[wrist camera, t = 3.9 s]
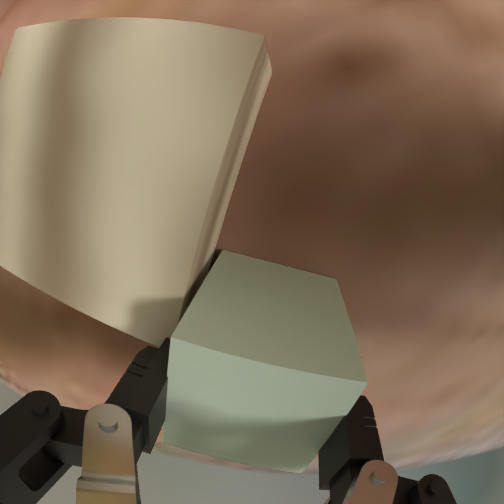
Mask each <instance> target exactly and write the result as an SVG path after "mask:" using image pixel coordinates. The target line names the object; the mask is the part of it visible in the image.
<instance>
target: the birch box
mask: <svg viewBox="0 0 504 504" xmlns="http://www.w3.org/2000/svg"><path fill="white" fill-rule="evenodd" d="M271 75H272V69H271V64H270V58H269V53H268V48H267V43H266V38H265V35H261V34H257V33H253V32H248V31H244V30H239V29H234V28H229V27H223V26H217V25H211V24H204V23H197V22H189V21H180V20H169V19H156V18H128V17H115V18H88V19H75V20H64V21H56V22H48V23H42V24H35V25H30V26H24V27H19V28H16V31H15V34H14V36H13V39H12V42H11V45H10V48H9V51H8V54H7V57H6V60H5V63H4V66H3V70H2V73H1V77H0V266H1V267H3V268H5V269H6V270H8V271H9V272H11V273H12V274H14V275H16V276H17V277H19V278H21V279H22V280H24V281H26V282H27V283H29V284H31V285H32V286H34V287H36V288H38V289H39V290H41V291H43V292H45V293H46V294H48V295H50V296H52V297H54V298H55V299H57V300H59V301H61V302H63V303H65V304H67V305H68V306H70V307H72V308H74V309H76V310H78V311H80V312H82V313H84V314H86V315H88V316H90V317H92V318H94V319H96V320H98V321H101V322H103V323H105V324H107V325H109V326H111V327H113V328H116V329H118V330H120V331H122V332H124V333H127V334H129V335H131V336H134V337H136V338H138V339H141V340H143V341H145V342H148V343H150V344H153V345H155V346H158V347H160V346H161V345H162V343H163V341H164V340H165V338H166V337H169V338H171V336H172V334H173V332H174V331H175V329H176V327H177V326H178V324H179V322H180V320H181V319H182V317H183V315H184V314H185V312H186V310H187V308H188V307H189V305H190V303H191V302H192V300H193V298H194V297H195V295H196V293H197V292H198V290H199V288H200V286H201V285H202V283H203V281H204V280H205V278H206V276H207V275H208V272H209V269H210V265H211V262H212V258H213V255H214V251H215V248H216V245H217V241H218V238H219V235H220V231H221V228H222V225H223V221H224V218H225V215H226V211H227V208H228V205H229V202H230V198H231V195H232V192H233V189H234V186H235V182H236V179H237V176H238V173H239V170H240V167H241V164H242V160H243V157H244V154H245V151H246V148H247V145H248V142H249V139H250V136H251V133H252V130H253V127H254V124H255V121H256V118H257V115H258V112H259V109H260V106H261V104H262V101H263V98H264V95H265V92H266V89H267V86H268V83H269V81H270V78H271Z"/></svg>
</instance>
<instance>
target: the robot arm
mask: <svg viewBox="0 0 504 504" xmlns="http://www.w3.org/2000/svg"><path fill="white" fill-rule="evenodd" d="M170 340H171V338H169V337H166V338H165V340H164V341H163V343H162V345H161V346H160V348H159V349H157V348H154V347H151V346H148V347H146V348H145V349H143V350H142V351H140V352H138V354H137V355H136V357H135V358H134V360H133V361H132V364H130V366H129V367H128V369H127V371H126V372H125V373H124V375H123V376H122V378H121V379H120V381H119V382H118V384H117V386H116V387H115V389H114V390H113V392H112V393H111V395H110V396H109V398H108V399H107V401H106V402H105V403H104V404H99V405H96V406H94V407H92V408H91V409H90V410H80V409H74V408H69V407H64V406H60V403H59V401H58V399H57V398H56V397H55V396H54V395H52V394H51V393H49V392H46V391H39V390H38V391H33V392H30V393H28V394H26V395H25V396H24V397H23V398H21V399H20V400H19V401H18V402H17V403H15V404H14V405H13V406H11V407H10V408H9V409H8V410H6V411H5V412H4V413H3V414H1V415H0V504H36V503H37V502H38V501H39V500H40V499H41V498H42V497H43V496H44V495H45V494H46V493H47V492H48V491H49V489H50V488H51V487H52V486H53V485H54V484H55V483H56V482H57V481H58V480H59V479H60V478H61V477H62V476H63V475H64V474H65V472H66V471H67V470H68V469H69V468H70V467H71V466H72V465H75V466H80V467H82V474H81V477H80V478H78V481H77V487H76V504H141V499H140V490H139V482H138V471H137V462H138V460H139V457H140V455H141V453H142V451H143V452H146V453H149V454H150V453H151V451H152V449H153V447H154V444H155V442H156V440H157V437H158V435H159V432H160V430H161V428H162V425H163V423H164V421H165V418H166V400H167V385H168V377H167V371H168V360H169V349H170ZM374 418H375V416H374V412H373V408H372V405H371V404H370V403H369V401H368V400H367V398H366V397H365V396H361V395H360V396H359V398H358V399H357V401H356V402H355V404H354V405H353V407H352V408H351V410H350V411H349V413H348V414H347V415H344V417H343V418H342V420H341V421H340V423H339V424H338V425H337V427H336V428H335V430H334V431H333V432H332V434H331V435H330V437H329V438H328V439H327V441H326V442H325V443H324V445H323V446H322V447H321V449H320V450H319V451H318V456H319V489H321V490H330V497H329V498H328V499H327V500H326V501H325V503H324V504H457V503H456V501H455V499H454V497H453V495H452V492H451V491H450V488H449V486H448V484H447V482H446V481H445V480H444V479H443V478H442V477H440V476H438V475H435V474H429V475H426V476H424V477H423V478H422V479H420V480H419V481H415V480H411V479H407V478H404V477H400V476H398V475H397V472H396V470H395V469H394V468H393V466H391V465H390V464H389V463H387V462H385V461H384V458H383V453H382V448H381V443H380V439H379V434H378V430H377V428H376V426H377V425H376V421H375V419H374Z"/></svg>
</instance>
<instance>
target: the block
mask: <svg viewBox="0 0 504 504" xmlns="http://www.w3.org/2000/svg"><path fill="white" fill-rule="evenodd" d="M167 377H168V385H167V400H166V418H165V421H164V429H163V442H164V443H167V444H170V445H173V446H176V447H179V448H182V449H186V450H189V451H192V452H196V453H199V454H203V455H207V456H211V457H215V458H219V459H223V460H227V461H232V462H236V463H241V464H246V465H251V466H257V467H262V468H268V469H275V470H282V471H289V472H298V473H302V472H303V471H304V470H305V469H306V468H307V466H308V465H309V464H310V463H311V462H312V460H313V459H314V458H315V457H316V455H317V454H318V451H319V450H320V449H321V447H322V446H323V445H324V443H325V442H326V441H327V439H328V438H329V437H330V435H331V434H332V432H333V431H334V430H335V428H336V427H337V425H338V424H339V423H340V421H341V420H342V418H343V417H344V415H347V414H348V413H349V411H350V410H351V408H352V407H353V405H354V404H355V402H356V401H357V399H358V398H359V396H360V395H361V393H362V392H363V390H364V389H365V387H366V385H367V384H368V380H367V376H366V373H365V369H364V365H363V362H362V358H361V355H360V352H359V348H358V345H357V341H356V338H355V335H354V332H353V328H352V325H351V322H350V319H349V316H348V313H347V309H346V306H345V303H344V300H343V297H342V294H341V291H340V288H339V285H338V282H337V279H334V278H330V277H326V276H322V275H319V274H315V273H311V272H307V271H303V270H299V269H296V268H292V267H288V266H284V265H280V264H276V263H273V262H269V261H265V260H261V259H257V258H253V257H250V256H246V255H242V254H238V253H234V252H231V251H227V250H222V252H221V253H220V255H219V257H218V258H217V260H216V261H215V263H214V265H213V266H212V268H211V270H210V271H209V273H208V275H207V276H206V278H205V280H204V281H203V283H202V285H201V286H200V288H199V290H198V292H197V293H196V295H195V297H194V298H193V300H192V302H191V303H190V305H189V307H188V308H187V310H186V312H185V314H184V315H183V317H182V319H181V320H180V322H179V324H178V326H177V327H176V329H175V331H174V332H173V334H172V336H171V340H170V349H169V360H168V371H167Z"/></svg>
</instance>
